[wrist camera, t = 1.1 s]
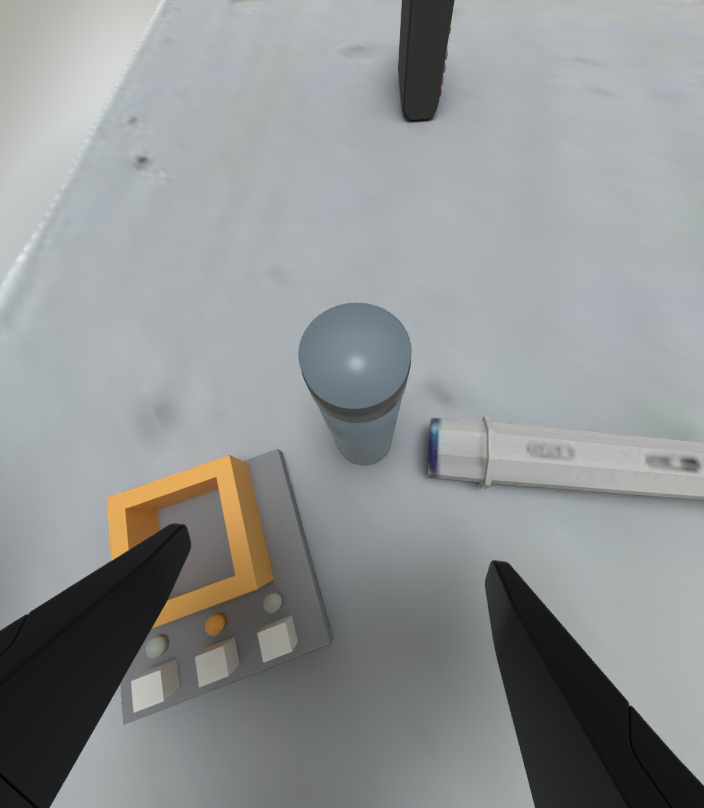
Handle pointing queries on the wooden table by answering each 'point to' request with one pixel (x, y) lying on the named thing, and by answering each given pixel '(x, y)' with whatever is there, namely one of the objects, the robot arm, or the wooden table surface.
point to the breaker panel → (221, 580)
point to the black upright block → (423, 54)
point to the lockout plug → (357, 376)
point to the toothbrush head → (564, 459)
